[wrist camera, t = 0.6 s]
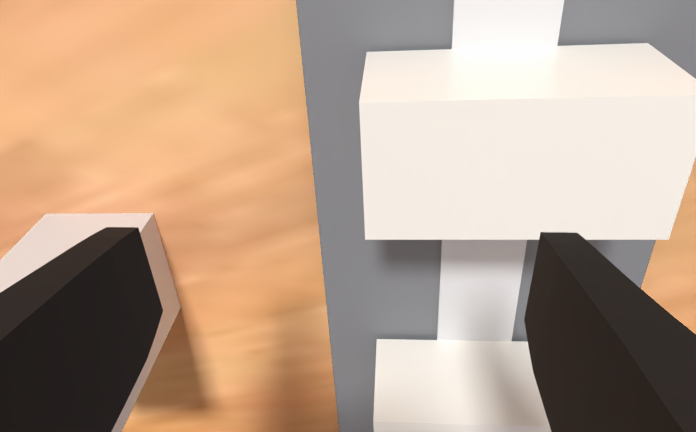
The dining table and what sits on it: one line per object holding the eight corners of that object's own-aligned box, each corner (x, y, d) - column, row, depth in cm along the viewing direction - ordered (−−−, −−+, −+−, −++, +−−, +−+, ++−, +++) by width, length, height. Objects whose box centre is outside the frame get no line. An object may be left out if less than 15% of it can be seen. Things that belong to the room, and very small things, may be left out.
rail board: (578, 450, 28) (585, 472, 27) (343, 442, 29) (341, 463, 28) (763, -176, 14) (792, -179, 13) (288, -145, 15) (280, -145, 14)
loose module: (181, 306, 24) (113, 448, 19) (85, 305, 25) (-11, 443, 19) (153, 212, 22) (63, 344, 16) (46, 213, 22) (-80, 341, 16)
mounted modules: (559, 406, 24) (584, 493, 21) (378, 401, 25) (375, 484, 22) (648, 42, 16) (716, 94, 12) (366, 51, 16) (358, 102, 13)
